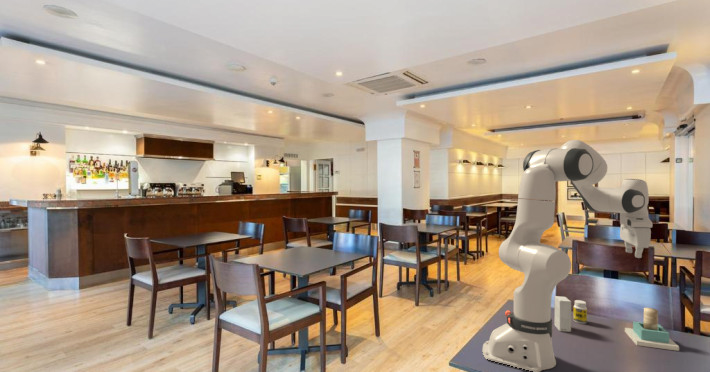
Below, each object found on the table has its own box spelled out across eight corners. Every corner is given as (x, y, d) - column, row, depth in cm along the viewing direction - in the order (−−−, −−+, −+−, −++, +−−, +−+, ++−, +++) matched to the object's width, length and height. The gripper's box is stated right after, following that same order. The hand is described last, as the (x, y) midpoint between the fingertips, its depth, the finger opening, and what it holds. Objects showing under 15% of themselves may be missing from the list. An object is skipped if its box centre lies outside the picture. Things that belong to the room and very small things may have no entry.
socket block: (636, 345, 127) (636, 331, 127) (624, 331, 138) (625, 318, 138) (679, 350, 122) (679, 336, 122) (663, 336, 134) (663, 323, 133)
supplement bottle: (574, 323, 146) (574, 302, 146) (572, 318, 151) (572, 299, 150) (588, 324, 145) (588, 304, 144) (585, 320, 149) (585, 300, 149)
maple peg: (645, 338, 129) (646, 310, 129) (641, 333, 133) (641, 307, 132) (659, 339, 127) (660, 312, 127) (654, 335, 131) (655, 308, 131)
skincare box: (571, 332, 138) (571, 301, 137) (559, 331, 139) (559, 300, 138) (565, 325, 144) (565, 296, 143) (554, 324, 145) (554, 295, 144)
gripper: (615, 217, 151) (615, 249, 151) (633, 223, 132) (633, 260, 132) (633, 217, 149) (633, 250, 149) (654, 223, 130) (654, 261, 130)
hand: (633, 255), depth 140 cm, fingers open, 8 cm apart
